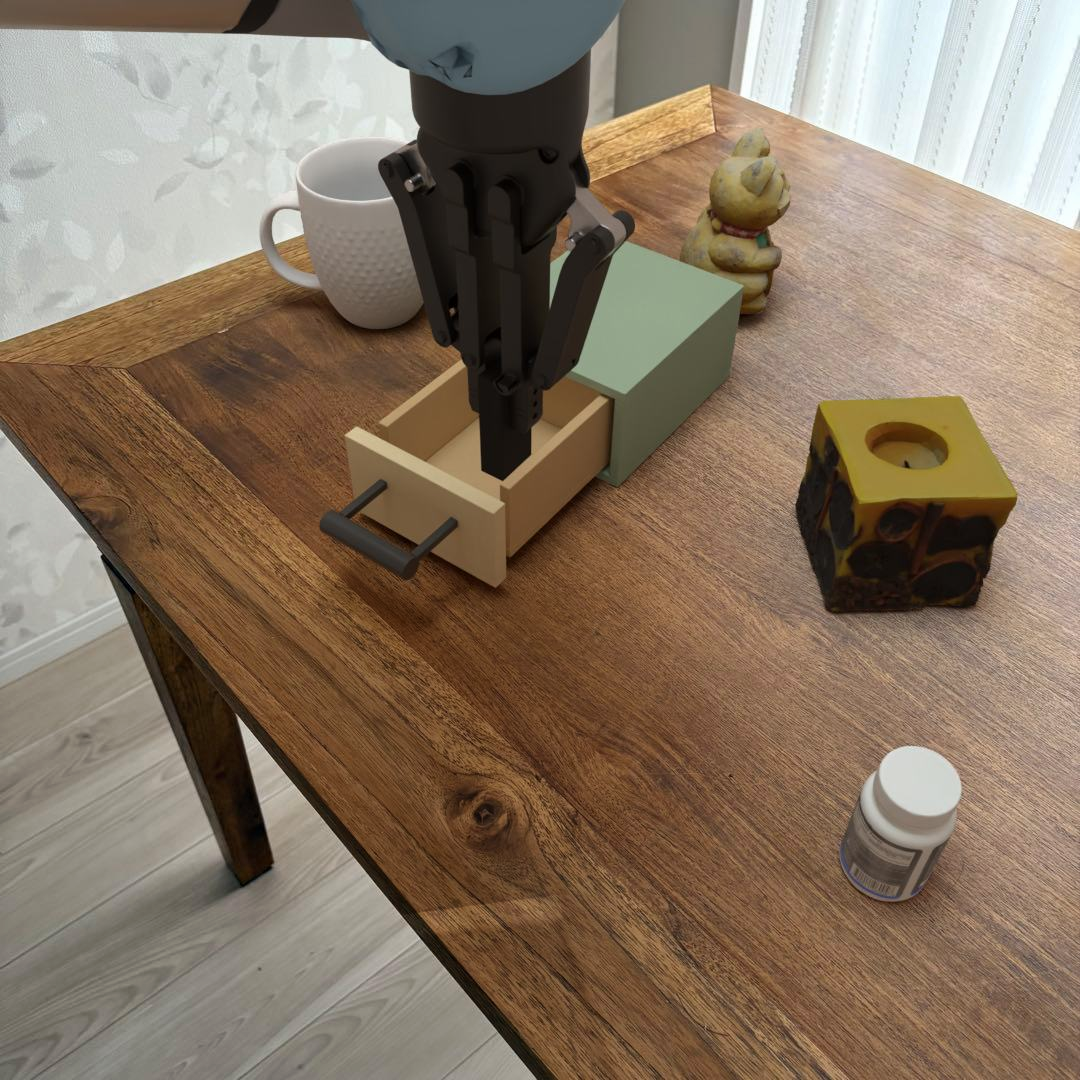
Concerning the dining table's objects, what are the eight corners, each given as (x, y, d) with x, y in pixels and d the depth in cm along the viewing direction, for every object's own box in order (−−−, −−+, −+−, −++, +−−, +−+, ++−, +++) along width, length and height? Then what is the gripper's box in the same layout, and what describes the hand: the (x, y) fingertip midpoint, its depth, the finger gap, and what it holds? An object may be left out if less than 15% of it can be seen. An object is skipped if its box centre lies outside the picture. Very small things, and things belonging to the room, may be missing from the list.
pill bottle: (898, 815, 62) (938, 728, 56) (943, 890, 59) (990, 807, 53) (822, 836, 61) (854, 751, 55) (863, 914, 58) (902, 833, 52)
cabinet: (617, 488, 81) (625, 394, 75) (471, 416, 86) (467, 324, 80) (729, 376, 90) (744, 285, 84) (591, 318, 96) (595, 229, 90)
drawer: (440, 642, 69) (434, 567, 65) (298, 556, 74) (282, 481, 70) (624, 462, 81) (631, 388, 77) (491, 398, 86) (489, 325, 82)
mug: (260, 342, 93) (230, 198, 84) (286, 270, 101) (261, 132, 91) (437, 347, 93) (427, 204, 83) (450, 275, 100) (442, 136, 91)
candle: (977, 610, 73) (1026, 499, 66) (826, 617, 72) (858, 506, 65) (928, 503, 80) (968, 392, 73) (790, 508, 79) (816, 398, 72)
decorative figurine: (781, 328, 95) (814, 163, 84) (687, 336, 94) (708, 170, 83) (750, 268, 102) (777, 107, 91) (662, 274, 101) (679, 113, 90)
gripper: (686, 32, 44) (642, 471, 61) (431, -36, 50) (455, 386, 66) (583, 98, 40) (566, 551, 57) (315, 16, 45) (372, 454, 62)
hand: (506, 462), depth 62 cm, fingers closed
